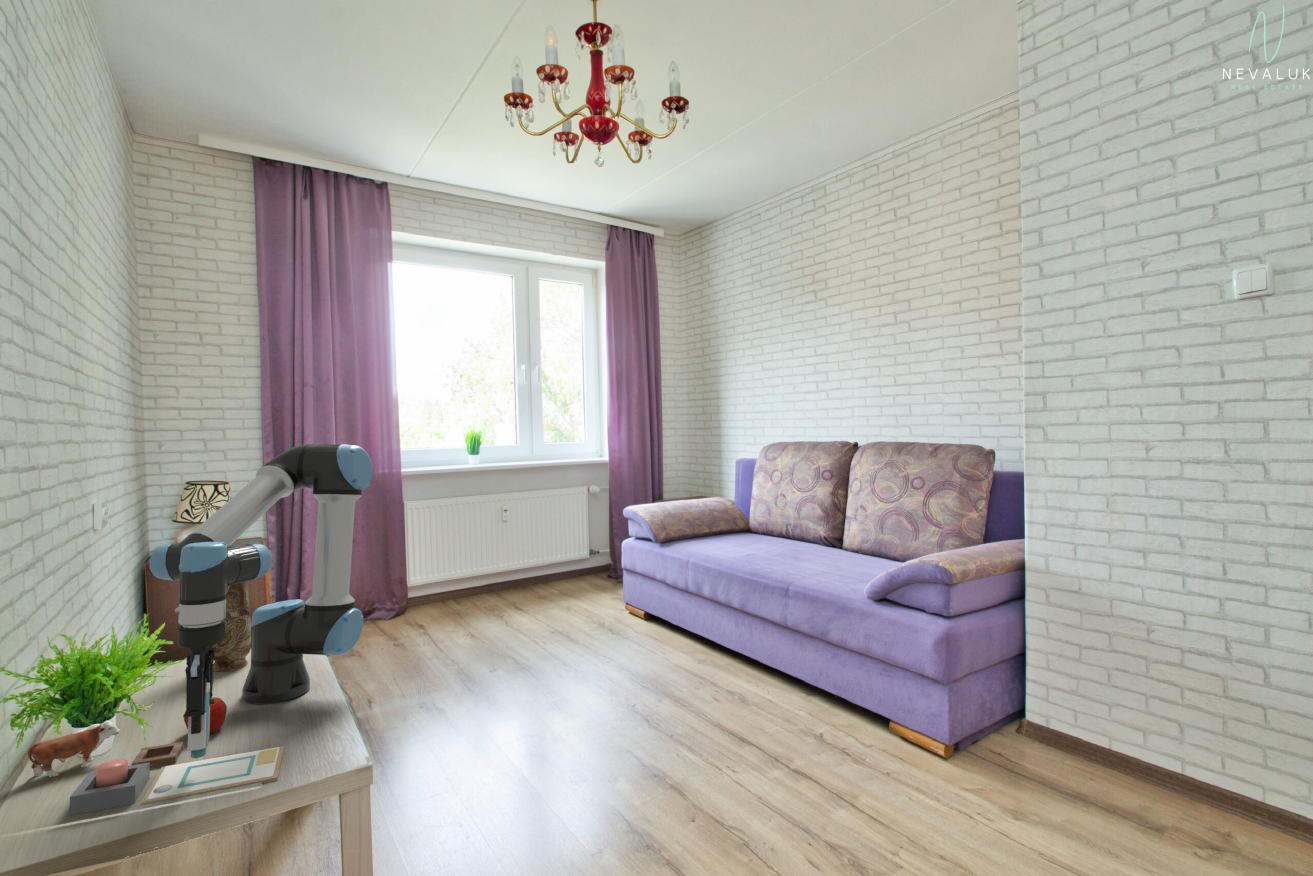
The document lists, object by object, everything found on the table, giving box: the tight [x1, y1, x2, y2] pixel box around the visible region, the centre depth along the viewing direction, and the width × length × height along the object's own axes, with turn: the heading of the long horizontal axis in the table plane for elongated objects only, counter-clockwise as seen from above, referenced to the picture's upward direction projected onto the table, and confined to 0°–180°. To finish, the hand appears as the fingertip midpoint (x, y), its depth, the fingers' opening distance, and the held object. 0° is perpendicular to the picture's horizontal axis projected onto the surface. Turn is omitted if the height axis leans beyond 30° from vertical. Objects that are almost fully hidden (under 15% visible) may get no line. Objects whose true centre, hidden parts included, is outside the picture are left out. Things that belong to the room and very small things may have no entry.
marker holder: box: [130, 741, 184, 769], centre depth 129 cm, size 7×7×2 cm
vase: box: [212, 581, 252, 672], centre depth 184 cm, size 10×11×30 cm
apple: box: [183, 696, 228, 735], centre depth 142 cm, size 8×8×8 cm
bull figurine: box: [27, 720, 121, 778], centre depth 126 cm, size 4×13×8 cm, turn 138°
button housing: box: [69, 762, 151, 816], centre depth 116 cm, size 9×9×4 cm
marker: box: [190, 682, 210, 759], centre depth 123 cm, size 3×3×14 cm
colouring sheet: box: [140, 745, 285, 805], centre depth 124 cm, size 14×21×1 cm, turn 116°
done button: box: [95, 758, 129, 788], centre depth 116 cm, size 4×4×3 cm
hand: (198, 744), depth 123 cm, fingers closed on marker, 3 cm apart
